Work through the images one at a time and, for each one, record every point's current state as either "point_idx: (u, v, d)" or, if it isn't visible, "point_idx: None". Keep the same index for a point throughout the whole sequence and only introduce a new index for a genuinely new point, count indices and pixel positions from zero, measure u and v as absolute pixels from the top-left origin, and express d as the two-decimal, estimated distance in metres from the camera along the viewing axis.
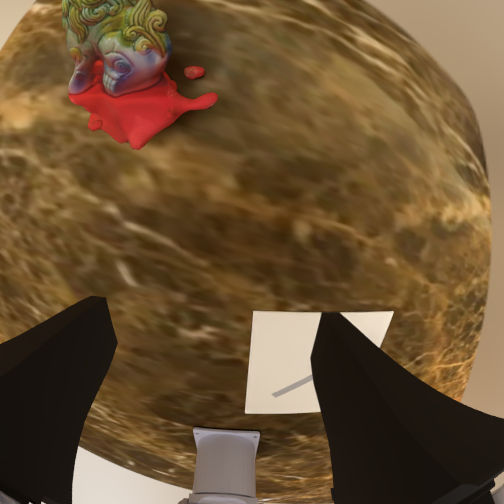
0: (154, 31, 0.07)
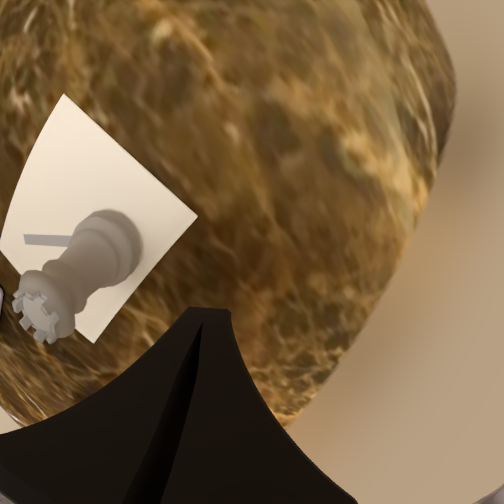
0: None
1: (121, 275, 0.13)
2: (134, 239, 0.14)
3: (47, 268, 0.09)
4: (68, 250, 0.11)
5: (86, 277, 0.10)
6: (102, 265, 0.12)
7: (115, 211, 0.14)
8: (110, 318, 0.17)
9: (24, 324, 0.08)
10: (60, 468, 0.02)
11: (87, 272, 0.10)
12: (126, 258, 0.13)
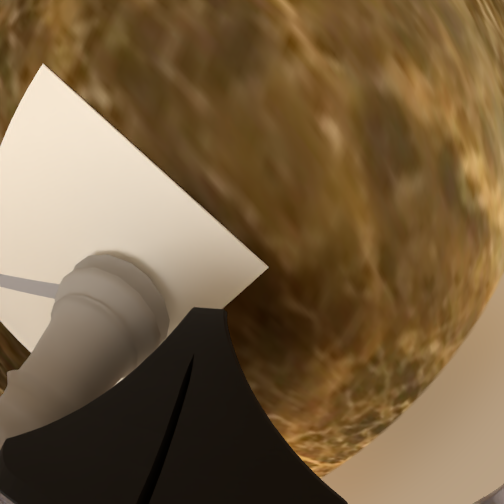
0: None
1: (141, 362, 0.08)
2: (159, 305, 0.09)
3: (12, 390, 0.04)
4: (45, 342, 0.05)
5: (84, 401, 0.05)
6: (108, 367, 0.06)
7: (125, 254, 0.09)
8: None
9: None
10: (69, 473, 0.02)
11: (84, 389, 0.05)
12: (148, 341, 0.08)
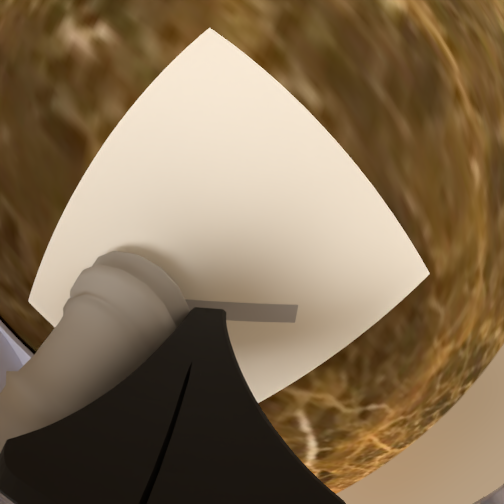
0: None
1: None
2: None
3: (10, 396, 0.03)
4: (52, 346, 0.05)
5: None
6: (119, 382, 0.06)
7: (319, 265, 0.09)
8: None
9: None
10: (71, 473, 0.02)
11: None
12: None
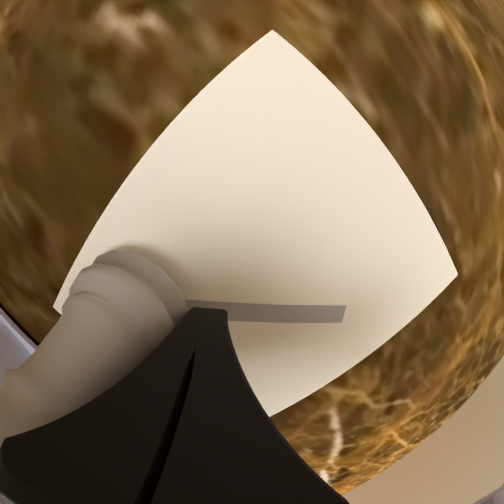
0: None
1: None
2: None
3: (9, 393, 0.03)
4: (51, 344, 0.05)
5: None
6: (117, 380, 0.06)
7: (368, 267, 0.09)
8: (290, 403, 0.12)
9: None
10: (68, 472, 0.02)
11: None
12: None
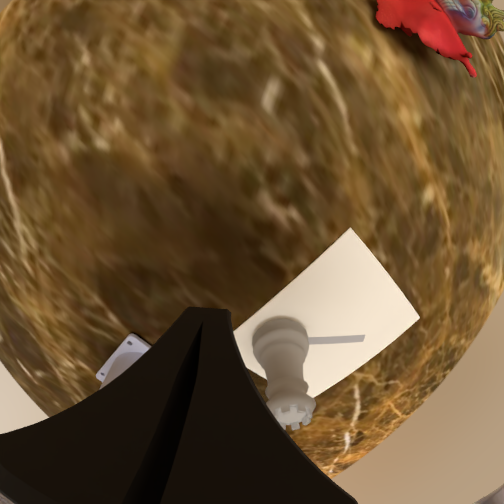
0: (495, 26, 0.05)
1: None
2: None
3: (288, 384, 0.15)
4: (285, 363, 0.17)
5: None
6: (302, 367, 0.18)
7: (375, 319, 0.20)
8: (336, 382, 0.23)
9: None
10: (60, 468, 0.02)
11: (303, 377, 0.16)
12: (306, 355, 0.19)
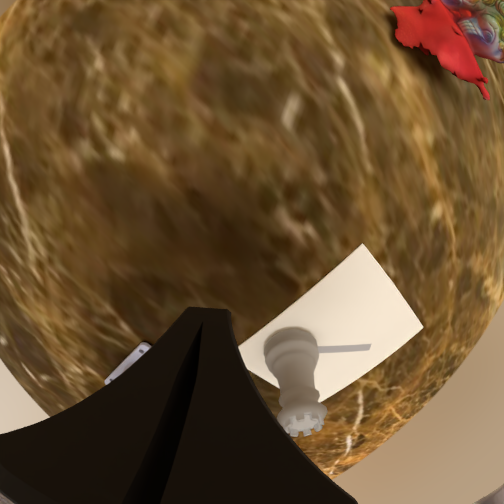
0: None
1: None
2: None
3: (302, 393, 0.15)
4: (298, 372, 0.17)
5: None
6: (313, 376, 0.18)
7: (382, 329, 0.21)
8: (341, 388, 0.24)
9: (289, 431, 0.14)
10: (59, 467, 0.02)
11: (314, 386, 0.17)
12: (315, 364, 0.20)
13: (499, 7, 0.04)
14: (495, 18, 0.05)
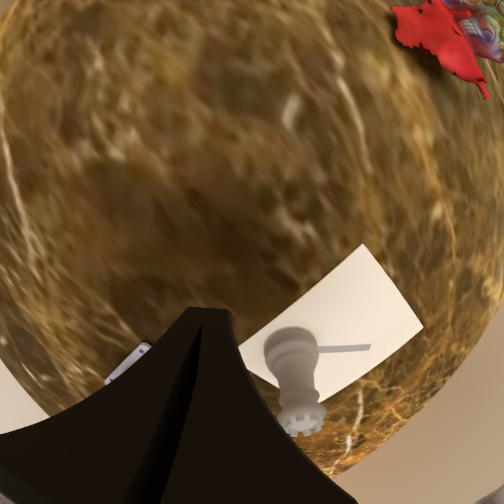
0: None
1: None
2: None
3: (302, 394, 0.15)
4: (298, 373, 0.17)
5: None
6: (313, 376, 0.18)
7: (382, 329, 0.21)
8: (341, 388, 0.24)
9: (289, 431, 0.14)
10: (59, 467, 0.02)
11: (314, 386, 0.17)
12: (315, 364, 0.20)
13: (499, 7, 0.04)
14: (495, 18, 0.05)
